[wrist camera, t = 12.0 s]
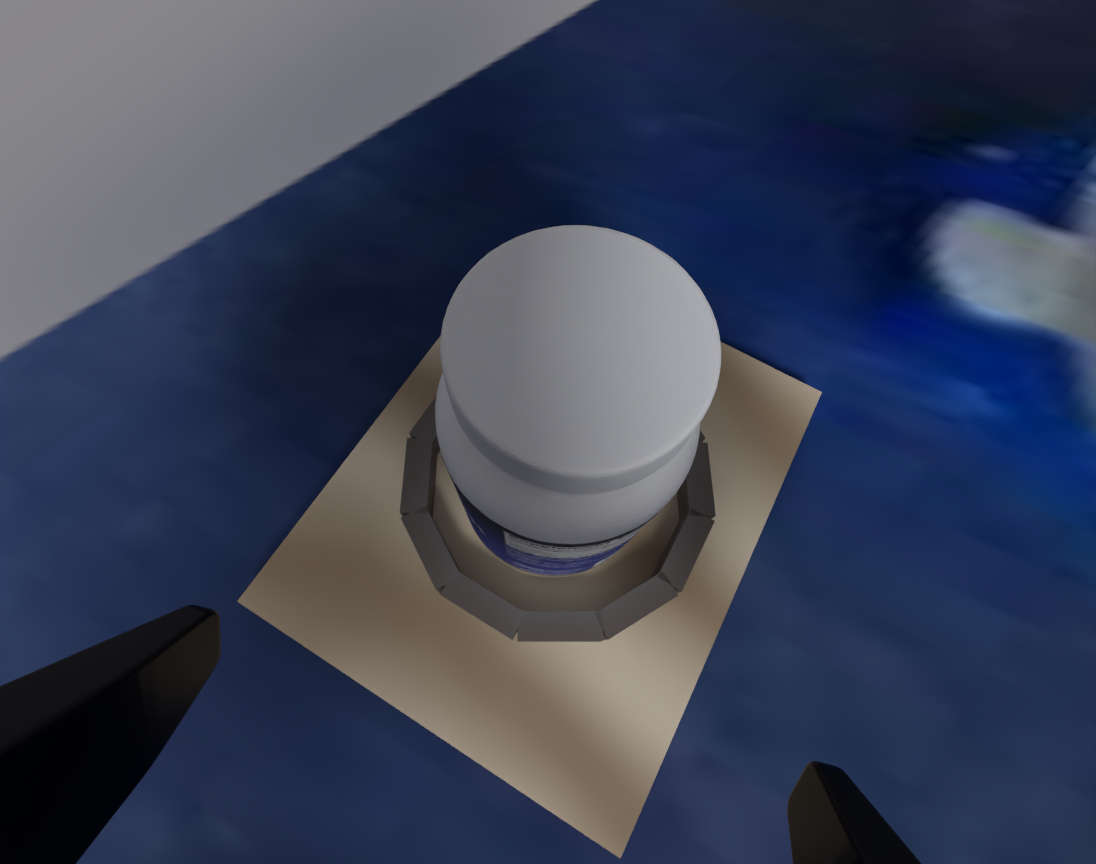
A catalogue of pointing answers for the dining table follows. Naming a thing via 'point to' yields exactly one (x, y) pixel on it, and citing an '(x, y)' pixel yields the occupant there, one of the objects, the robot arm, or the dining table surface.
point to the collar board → (534, 600)
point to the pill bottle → (572, 393)
